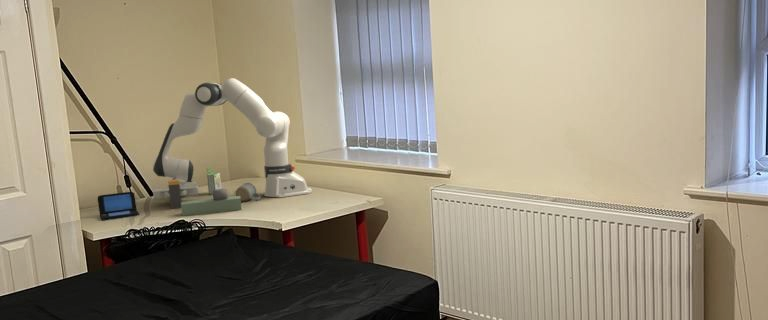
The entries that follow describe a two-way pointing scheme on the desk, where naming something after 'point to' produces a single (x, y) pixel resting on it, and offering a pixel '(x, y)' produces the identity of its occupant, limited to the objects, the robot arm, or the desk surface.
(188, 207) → the green platform block
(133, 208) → the handheld game console
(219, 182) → the ink box
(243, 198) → the ceramic mug
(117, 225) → the desk surface
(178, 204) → the dark grey tall block
